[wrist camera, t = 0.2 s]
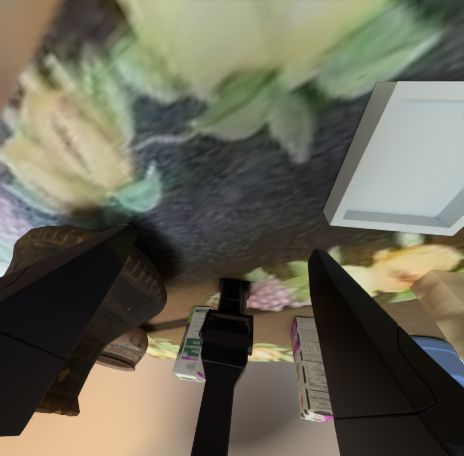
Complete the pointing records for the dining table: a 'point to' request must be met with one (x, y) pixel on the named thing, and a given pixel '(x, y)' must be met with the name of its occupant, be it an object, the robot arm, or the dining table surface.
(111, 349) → the cooking pot
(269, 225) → the dining table surface
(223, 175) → the dining table surface
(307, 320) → the candy bar box
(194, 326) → the syrup box
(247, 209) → the dining table surface
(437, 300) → the birch block
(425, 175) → the tray
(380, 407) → the robot arm
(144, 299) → the ceramic pot
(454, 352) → the water jug
